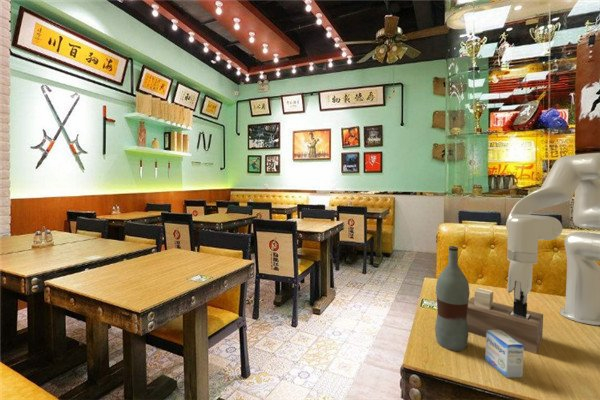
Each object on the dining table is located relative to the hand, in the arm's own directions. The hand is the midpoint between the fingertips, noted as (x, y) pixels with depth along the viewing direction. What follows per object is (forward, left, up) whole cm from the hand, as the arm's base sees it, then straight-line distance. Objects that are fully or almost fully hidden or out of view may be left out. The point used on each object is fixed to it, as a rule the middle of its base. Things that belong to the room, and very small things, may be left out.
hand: (519, 314), depth 92 cm
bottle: (+18, -14, -8) cm, 24 cm away
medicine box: (+21, 0, -8) cm, 23 cm away
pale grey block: (0, 0, -8) cm, 8 cm away
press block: (0, -5, -8) cm, 10 cm away
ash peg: (0, -10, -3) cm, 10 cm away
